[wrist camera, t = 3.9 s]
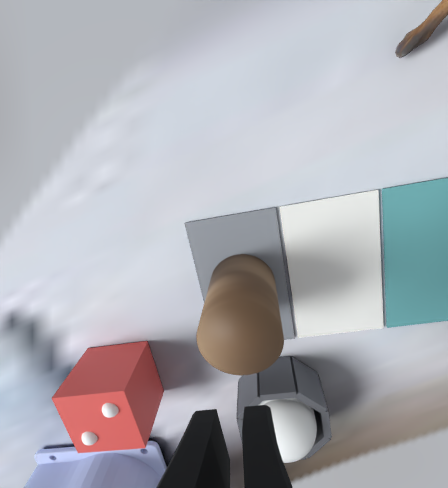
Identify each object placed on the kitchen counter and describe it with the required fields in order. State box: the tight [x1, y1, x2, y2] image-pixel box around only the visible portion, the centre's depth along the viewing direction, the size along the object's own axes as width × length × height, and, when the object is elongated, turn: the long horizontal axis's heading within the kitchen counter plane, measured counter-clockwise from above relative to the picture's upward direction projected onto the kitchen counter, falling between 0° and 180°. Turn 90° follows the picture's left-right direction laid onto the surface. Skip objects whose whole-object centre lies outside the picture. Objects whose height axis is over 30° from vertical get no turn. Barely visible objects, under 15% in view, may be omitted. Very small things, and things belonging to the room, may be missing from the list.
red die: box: [52, 341, 164, 453], centre depth 19 cm, size 4×4×4 cm
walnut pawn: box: [197, 254, 284, 375], centre depth 16 cm, size 4×4×5 cm
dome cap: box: [259, 398, 317, 463], centre depth 18 cm, size 4×4×4 cm
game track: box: [185, 178, 448, 340], centre depth 17 cm, size 15×8×1 cm, turn 101°
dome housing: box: [237, 356, 332, 460], centre depth 19 cm, size 5×5×3 cm
